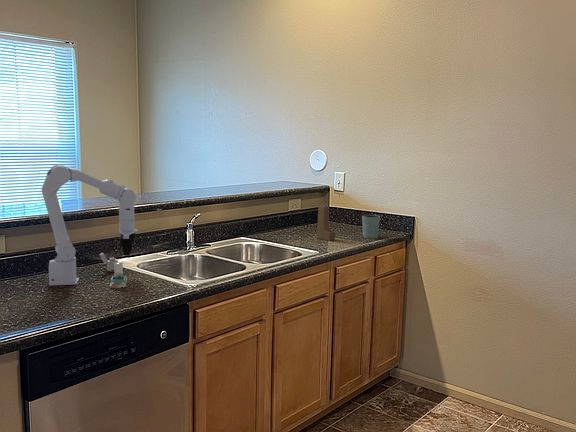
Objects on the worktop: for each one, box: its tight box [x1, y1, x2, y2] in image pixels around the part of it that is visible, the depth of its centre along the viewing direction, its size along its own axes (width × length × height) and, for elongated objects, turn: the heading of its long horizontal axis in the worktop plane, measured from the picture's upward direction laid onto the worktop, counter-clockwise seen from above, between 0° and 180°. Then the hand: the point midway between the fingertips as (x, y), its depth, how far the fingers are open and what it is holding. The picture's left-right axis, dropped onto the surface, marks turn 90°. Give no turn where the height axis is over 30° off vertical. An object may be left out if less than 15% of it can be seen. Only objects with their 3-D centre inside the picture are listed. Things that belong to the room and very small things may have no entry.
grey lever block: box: [99, 252, 119, 272], centre depth 227 cm, size 7×2×8 cm, turn 133°
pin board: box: [109, 275, 128, 289], centre depth 209 cm, size 6×9×2 cm, turn 13°
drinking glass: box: [361, 214, 381, 239], centre depth 312 cm, size 10×10×12 cm
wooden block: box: [316, 204, 336, 242], centre depth 302 cm, size 9×4×18 cm, turn 47°
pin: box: [113, 262, 124, 280], centre depth 209 cm, size 3×3×7 cm
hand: (127, 253), depth 219 cm, fingers open, 7 cm apart
